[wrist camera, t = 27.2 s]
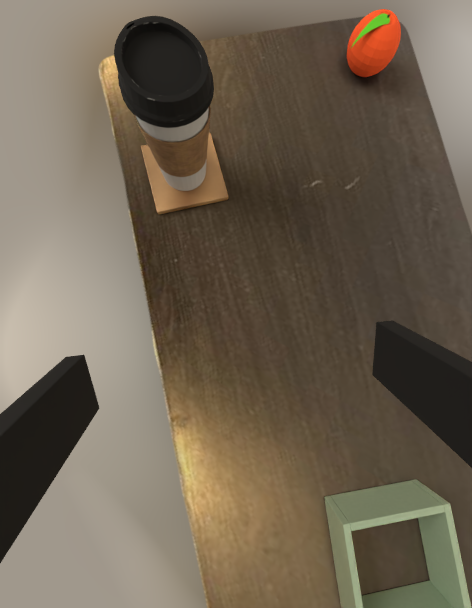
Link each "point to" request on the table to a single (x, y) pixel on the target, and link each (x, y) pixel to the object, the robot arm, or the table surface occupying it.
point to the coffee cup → (168, 95)
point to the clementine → (373, 43)
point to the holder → (388, 509)
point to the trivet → (204, 194)
